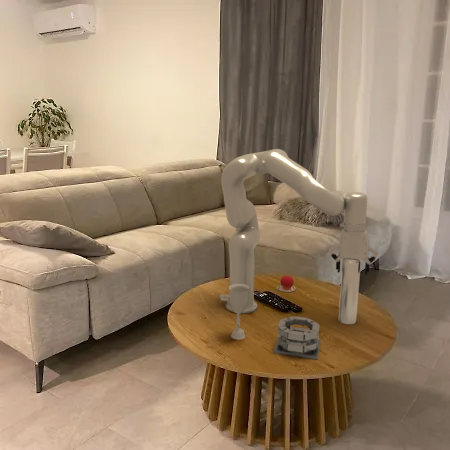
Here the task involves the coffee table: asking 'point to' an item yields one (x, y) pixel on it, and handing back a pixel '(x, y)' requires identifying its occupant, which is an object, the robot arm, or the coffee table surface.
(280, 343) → the collar stand
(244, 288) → the chalice
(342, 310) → the silver metal cylinder
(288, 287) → the apple
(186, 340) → the coffee table surface
